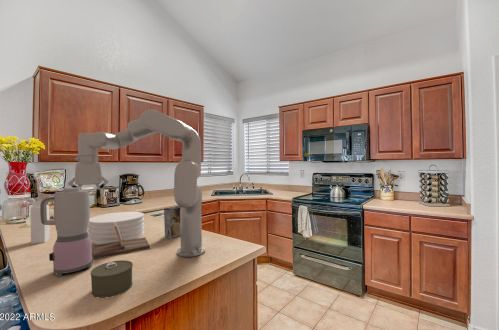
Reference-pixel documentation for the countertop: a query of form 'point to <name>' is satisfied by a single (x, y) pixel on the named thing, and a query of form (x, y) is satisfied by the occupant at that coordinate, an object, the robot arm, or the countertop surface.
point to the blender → (70, 230)
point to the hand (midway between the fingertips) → (89, 198)
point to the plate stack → (105, 231)
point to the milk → (38, 224)
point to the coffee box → (172, 222)
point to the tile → (118, 234)
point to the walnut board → (120, 247)
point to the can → (111, 278)
